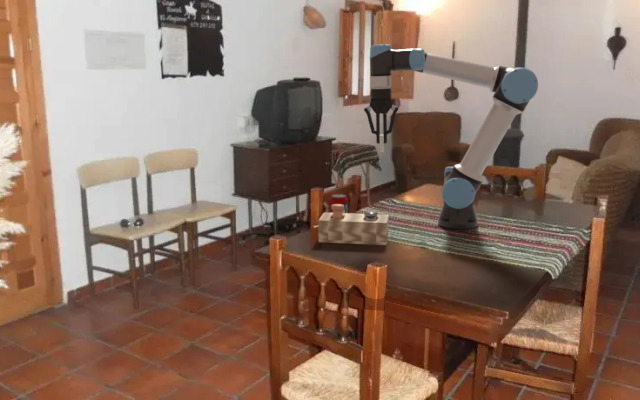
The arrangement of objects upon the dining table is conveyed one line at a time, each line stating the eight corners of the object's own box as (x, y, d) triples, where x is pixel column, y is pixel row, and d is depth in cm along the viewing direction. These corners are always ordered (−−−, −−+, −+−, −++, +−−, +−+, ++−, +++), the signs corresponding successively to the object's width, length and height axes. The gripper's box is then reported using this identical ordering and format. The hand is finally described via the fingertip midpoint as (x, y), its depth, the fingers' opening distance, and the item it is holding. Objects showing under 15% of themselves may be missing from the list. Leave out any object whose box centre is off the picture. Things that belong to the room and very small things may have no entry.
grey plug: (377, 233, 219) (377, 211, 218) (376, 236, 215) (376, 214, 213) (364, 232, 220) (365, 210, 218) (363, 236, 216) (363, 213, 214)
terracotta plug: (344, 226, 221) (344, 204, 219) (343, 229, 217) (343, 207, 215) (332, 225, 222) (332, 203, 220) (330, 228, 217) (330, 206, 216)
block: (388, 235, 223) (388, 214, 221) (386, 245, 211) (386, 223, 210) (323, 233, 227) (323, 212, 225) (318, 242, 215) (318, 220, 214)
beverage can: (346, 227, 234) (346, 197, 231) (328, 227, 235) (328, 196, 232) (348, 223, 240) (348, 193, 238) (332, 222, 242) (332, 193, 239)
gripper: (398, 87, 223) (399, 150, 228) (363, 88, 225) (364, 151, 230) (399, 87, 216) (399, 153, 221) (362, 89, 218) (363, 154, 223)
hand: (381, 152), depth 226 cm, fingers closed
